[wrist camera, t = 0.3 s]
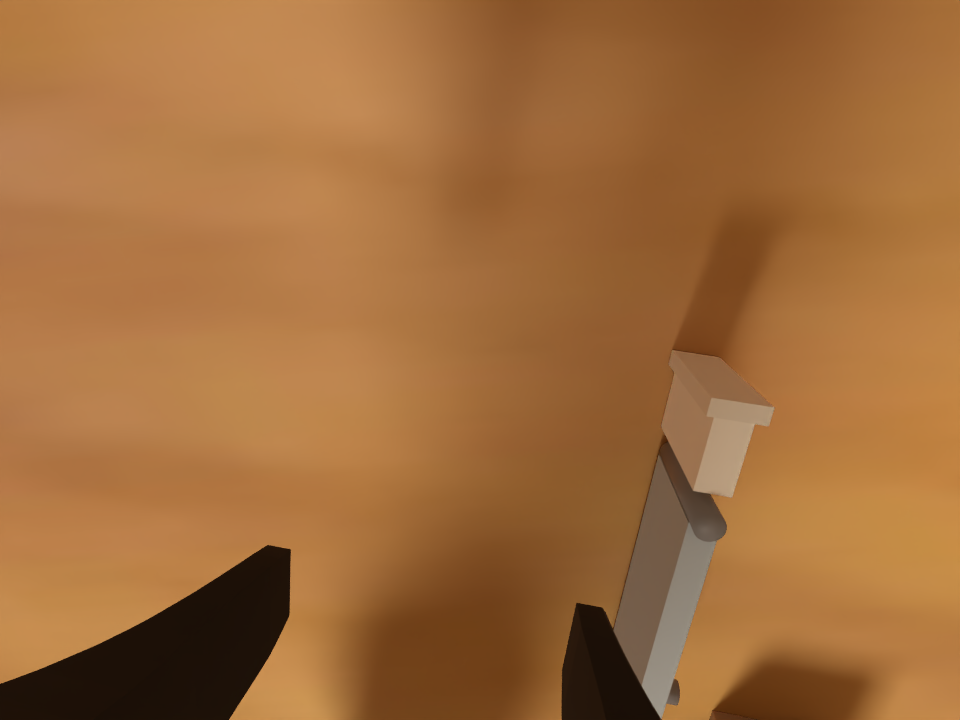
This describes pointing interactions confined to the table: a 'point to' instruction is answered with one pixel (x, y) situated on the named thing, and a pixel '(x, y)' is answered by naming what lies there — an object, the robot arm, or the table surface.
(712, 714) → the block
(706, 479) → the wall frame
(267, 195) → the table surface
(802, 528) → the table surface
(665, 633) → the door
